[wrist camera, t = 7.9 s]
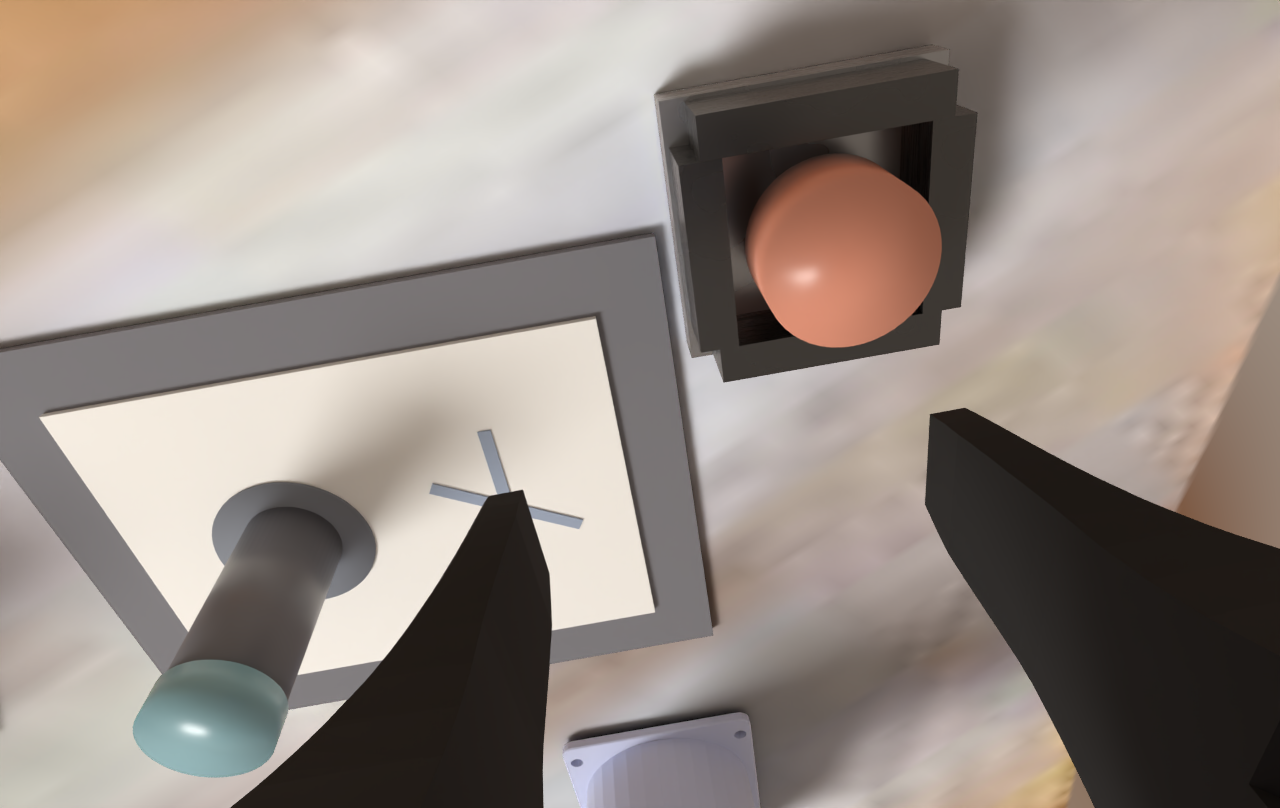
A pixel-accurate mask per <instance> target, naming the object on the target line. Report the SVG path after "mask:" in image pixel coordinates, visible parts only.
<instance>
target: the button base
mask: <svg viewBox="0 0 1280 808" xmlns="http://www.w3.org/2000/svg"><path fill="white" fill-rule="evenodd" d="M949 51H950V49H946V48H942V47H938V46H934V45H928V46H922V47H917V48H911V49H906V50H900V51H894V52H889V53H883V54H878V55H872V56H866V57H861V58H855V59H850V60H844V61H838V62H833V63H827V64H822V65H816V66H810V67H805V68H799V69H793V70H788V71H782V72H777V73H771V74H765V75H760V76H754V77H749V78H743V79H737V80H732V81H726V82H721V83H715V84H709V85H704V86H698V87H693V88H687V89H681V90H676V91H670V92H665V93H659V94H654V98H655V106H656V114H657V121H658V129H659V136H660V144H661V151H662V159H663V166H664V174H665V181H666V189H667V196H668V204H669V211H670V219H671V226H672V234H673V242H674V249H675V257H676V264H677V272H678V279H679V287H680V294H681V302H682V309H683V317H684V324H685V332H686V339H687V344H688V347H689V351H690V354H691V357H692V358H695V357H701V356H706V355H712V354H713V355H714V358H715V361H716V363H717V366H718V369H719V371H720V374H721V377H722V379H723V382H729V381H735V380H740V379H746V378H752V377H757V376H763V375H769V374H774V373H780V372H786V371H791V370H797V369H803V368H808V367H814V366H820V365H825V364H831V363H837V362H842V361H848V360H854V359H859V358H865V357H871V356H876V355H882V354H888V353H893V352H899V351H905V350H910V349H916V348H922V347H927V346H933V345H939V342H940V328H941V313H942V310H946V309H952V308H958V307H961V299H962V287H963V276H964V264H965V252H966V240H967V229H968V217H969V205H970V193H971V181H972V170H973V158H974V146H975V134H976V123H977V112H974V111H972V110H969V109H966V108H964V107H961V106H959V105H956V100H957V85H958V71H959V69H958V68H955V67H951V66H949ZM832 153H847V154H852V155H858V156H861V157H864V158H867V159H869V160H871V161H873V162H874V163H876V164H878V165H879V166H881V167H882V168H884V169H885V170H887V171H888V172H889V173H891V174H892V175H894V176H895V177H897V178H898V179H900V180H901V181H903V182H904V183H906V184H907V185H909V186H910V187H911V188H913V189H914V190H915V191H917V192H918V193H919V194H920V195H921V196H922V197H923V198H924V199H925V200H926V201H927V202H928V204H929V205H930V207H931V208H932V210H933V212H934V214H935V216H936V218H937V221H938V224H939V227H940V232H941V239H942V253H941V260H940V265H939V269H938V272H937V275H936V278H935V280H934V283H933V285H932V287H931V289H930V291H929V292H928V294H927V296H926V297H925V299H924V300H923V302H922V303H921V304H920V306H919V307H918V308H917V309H916V310H915V311H914V313H913V314H912V315H911V316H909V317H908V318H907V319H906V320H905V321H904V322H903V323H902V324H900V325H899V326H898V327H896V328H895V329H893V330H892V331H890V332H888V333H887V334H885V335H883V336H881V337H879V338H877V339H875V340H872V341H869V342H867V343H864V344H860V345H855V346H849V347H824V346H818V345H814V344H810V343H808V342H806V341H803V340H801V339H799V338H797V337H796V336H794V335H792V334H791V333H790V332H789V331H787V330H786V329H785V328H784V327H783V326H782V325H781V324H780V323H779V321H778V320H777V319H776V317H775V316H774V314H773V313H772V311H771V309H770V307H769V306H768V304H767V302H766V301H765V299H764V297H763V295H762V294H761V292H760V290H759V288H758V287H757V285H756V283H755V281H754V280H753V278H752V276H751V273H750V271H749V268H748V265H747V262H746V255H745V236H746V229H747V225H748V222H749V219H750V216H751V213H752V211H753V209H754V207H755V205H756V203H757V201H758V200H759V198H760V197H761V195H762V194H763V192H764V191H765V190H766V189H767V187H768V186H769V185H770V184H771V183H772V182H773V181H774V180H775V179H776V178H777V177H778V176H780V175H781V174H782V173H783V172H785V171H786V170H788V169H789V168H791V167H792V166H794V165H796V164H798V163H800V162H802V161H804V160H807V159H809V158H812V157H815V156H819V155H823V154H832Z"/></svg>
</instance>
